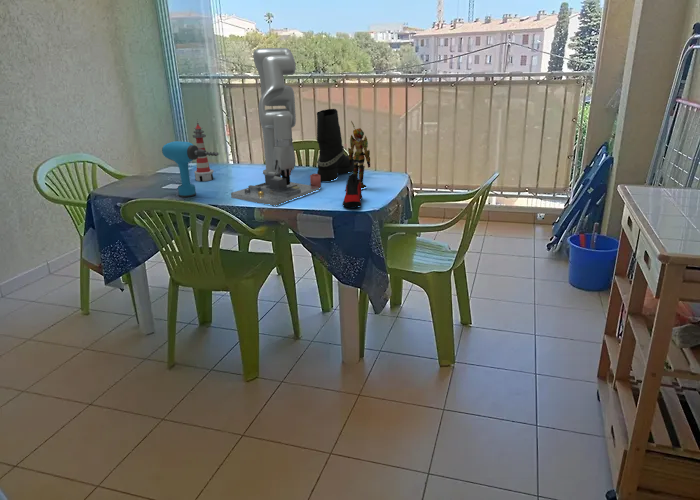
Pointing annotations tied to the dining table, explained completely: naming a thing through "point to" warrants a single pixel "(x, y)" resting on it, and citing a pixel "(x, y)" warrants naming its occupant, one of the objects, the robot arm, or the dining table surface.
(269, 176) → the dark grey cube
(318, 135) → the boot
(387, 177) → the dining table surface
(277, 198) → the panel
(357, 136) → the figurine
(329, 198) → the dining table surface
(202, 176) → the miniature lighthouse
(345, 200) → the athletic shoe
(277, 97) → the robot arm
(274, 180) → the grey cube
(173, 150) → the power drill
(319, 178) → the lockout cap
